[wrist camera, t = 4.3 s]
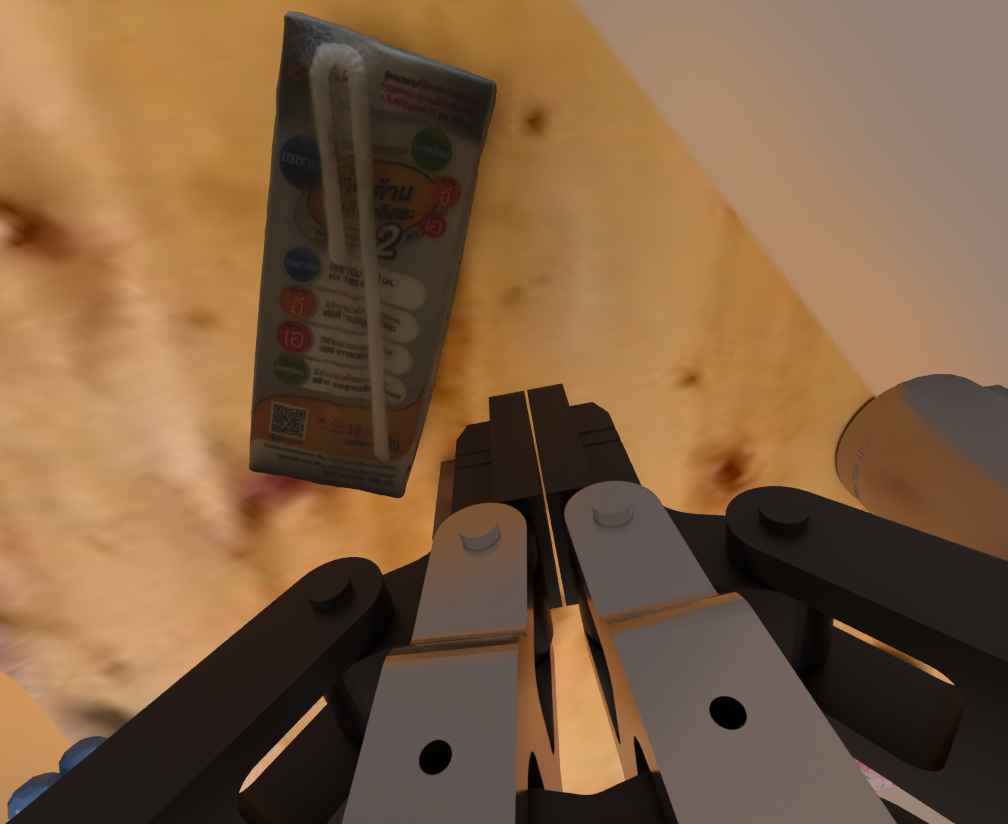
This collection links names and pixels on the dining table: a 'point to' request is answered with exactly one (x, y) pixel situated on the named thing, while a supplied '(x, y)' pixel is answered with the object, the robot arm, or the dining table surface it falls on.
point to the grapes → (51, 775)
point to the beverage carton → (359, 253)
